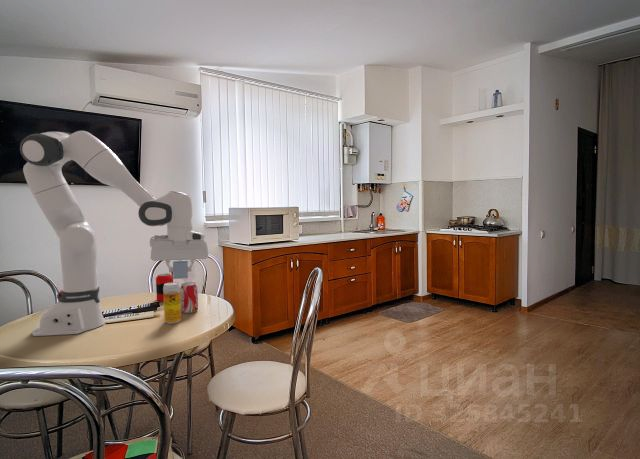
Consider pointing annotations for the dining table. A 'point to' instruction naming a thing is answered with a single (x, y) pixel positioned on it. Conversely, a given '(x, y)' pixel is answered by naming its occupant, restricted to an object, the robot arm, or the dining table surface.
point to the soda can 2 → (189, 297)
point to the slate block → (180, 269)
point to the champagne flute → (190, 273)
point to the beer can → (172, 302)
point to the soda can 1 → (162, 285)
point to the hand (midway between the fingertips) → (180, 271)
